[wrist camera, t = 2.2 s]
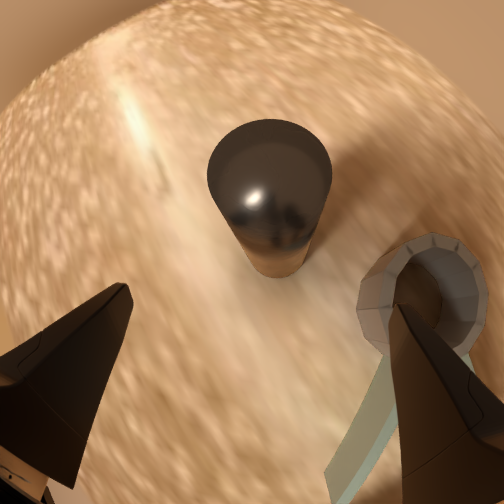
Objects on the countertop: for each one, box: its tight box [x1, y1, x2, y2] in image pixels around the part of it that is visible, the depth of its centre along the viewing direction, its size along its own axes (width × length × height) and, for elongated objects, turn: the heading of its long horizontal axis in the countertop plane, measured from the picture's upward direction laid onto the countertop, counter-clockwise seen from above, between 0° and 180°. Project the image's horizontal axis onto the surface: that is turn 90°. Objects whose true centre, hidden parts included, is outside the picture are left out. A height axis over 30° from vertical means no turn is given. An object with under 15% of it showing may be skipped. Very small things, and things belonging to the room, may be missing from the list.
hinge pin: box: [207, 119, 332, 278], centre depth 15 cm, size 4×4×12 cm
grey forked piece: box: [324, 232, 489, 504], centre depth 16 cm, size 18×13×5 cm
